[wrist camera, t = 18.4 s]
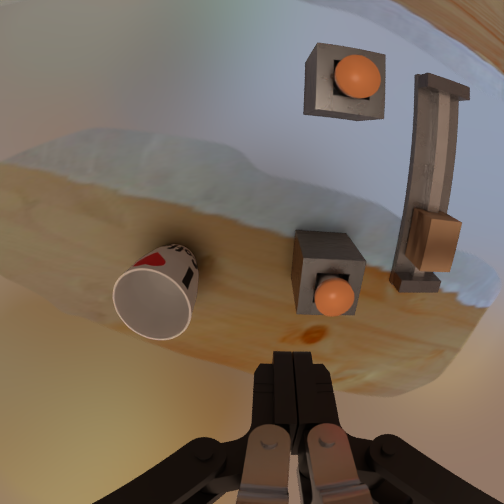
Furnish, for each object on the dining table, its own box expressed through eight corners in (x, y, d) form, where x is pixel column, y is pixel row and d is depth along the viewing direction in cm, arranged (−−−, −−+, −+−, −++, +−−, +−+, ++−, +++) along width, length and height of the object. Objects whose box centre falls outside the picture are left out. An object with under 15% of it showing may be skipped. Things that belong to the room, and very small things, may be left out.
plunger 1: (311, 261, 30) (318, 281, 26) (346, 262, 29) (357, 282, 26) (307, 293, 31) (312, 315, 27) (341, 294, 31) (350, 316, 27)
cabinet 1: (305, 62, 27) (317, 42, 20) (362, 70, 27) (389, 55, 20) (303, 114, 30) (315, 109, 22) (360, 121, 29) (388, 119, 22)
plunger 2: (326, 62, 22) (336, 51, 18) (364, 68, 22) (380, 59, 18) (325, 99, 24) (335, 93, 20) (363, 105, 24) (380, 101, 20)
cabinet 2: (295, 230, 35) (303, 258, 27) (349, 233, 34) (370, 261, 27) (290, 277, 37) (296, 314, 29) (341, 279, 37) (358, 315, 29)
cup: (219, 251, 36) (204, 293, 27) (193, 302, 39) (174, 352, 30) (159, 220, 35) (124, 253, 26) (138, 274, 38) (105, 316, 28)
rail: (414, 75, 27) (428, 70, 23) (454, 87, 26) (469, 85, 23) (389, 280, 36) (398, 293, 33) (426, 281, 36) (437, 293, 33)
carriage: (414, 207, 32) (431, 218, 27) (443, 211, 31) (461, 222, 27) (404, 255, 34) (419, 271, 30) (433, 257, 34) (449, 272, 30)
